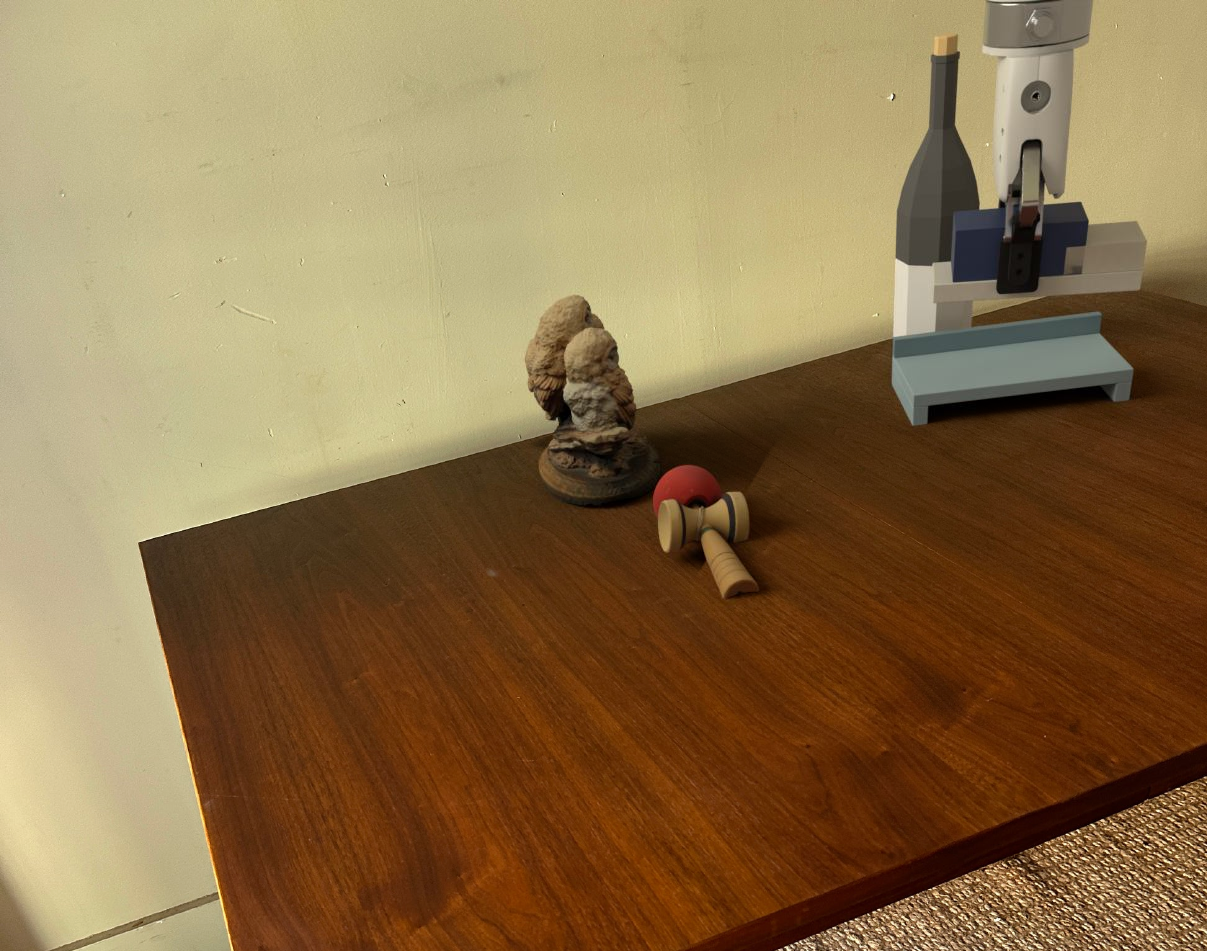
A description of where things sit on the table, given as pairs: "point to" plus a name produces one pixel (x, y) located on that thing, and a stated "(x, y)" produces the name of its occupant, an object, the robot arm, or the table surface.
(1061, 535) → the table surface
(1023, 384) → the shelf
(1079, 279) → the navy block on base
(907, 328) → the wine bottle
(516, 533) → the table surface
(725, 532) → the kendama
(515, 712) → the table surface
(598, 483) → the owl figurine
